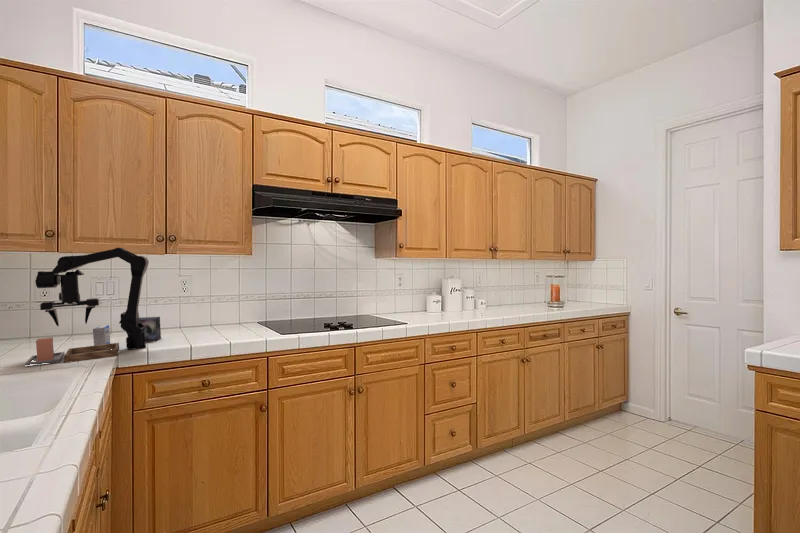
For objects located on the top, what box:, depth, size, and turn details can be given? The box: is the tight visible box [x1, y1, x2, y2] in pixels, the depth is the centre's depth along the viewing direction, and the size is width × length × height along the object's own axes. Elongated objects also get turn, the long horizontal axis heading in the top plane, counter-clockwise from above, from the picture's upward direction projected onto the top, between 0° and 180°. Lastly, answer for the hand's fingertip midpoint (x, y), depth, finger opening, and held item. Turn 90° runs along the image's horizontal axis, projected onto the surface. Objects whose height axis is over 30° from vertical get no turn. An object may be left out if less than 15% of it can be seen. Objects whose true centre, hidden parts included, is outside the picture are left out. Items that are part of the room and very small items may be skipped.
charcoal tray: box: [24, 351, 66, 366], centre depth 165 cm, size 10×14×2 cm
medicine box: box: [92, 324, 111, 346], centre depth 190 cm, size 8×4×9 cm, turn 22°
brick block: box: [35, 336, 55, 361], centre depth 165 cm, size 4×4×8 cm
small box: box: [139, 316, 162, 343], centre depth 199 cm, size 11×6×10 cm, turn 101°
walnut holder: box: [63, 342, 120, 363], centre depth 173 cm, size 17×15×2 cm
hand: (72, 324), depth 176 cm, fingers open, 9 cm apart
